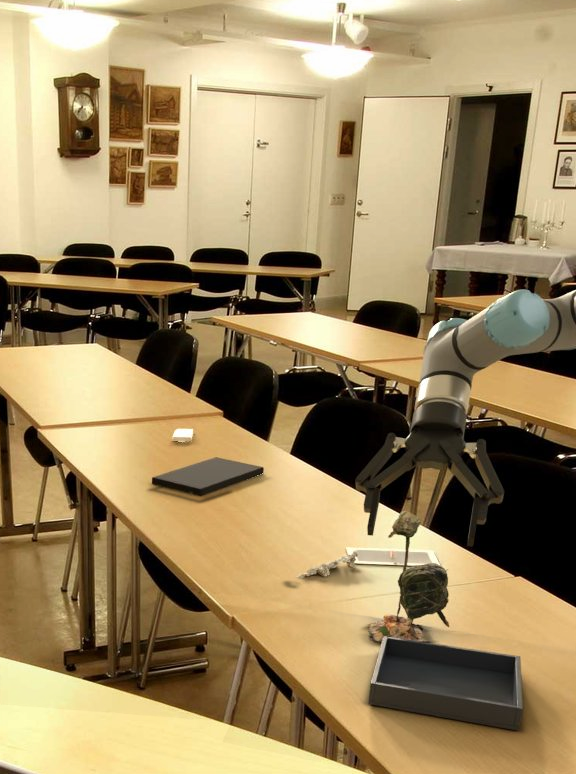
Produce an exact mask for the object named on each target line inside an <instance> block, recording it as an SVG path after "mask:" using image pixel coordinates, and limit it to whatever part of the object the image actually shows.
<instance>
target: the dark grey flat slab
mask: <svg viewBox="0 0 576 774" xmlns="http://www.w3.org/2000/svg"><path fill="white" fill-rule="evenodd" d="M264 469H265V468H264V466H260V465H256V464H250V463H245V462H241V461H236V460H232V459H227V458H222V457H217V456H215V457H211V458H210V459H205V460H202V461H200V462H196V463H193V464H190V465H188V466H183V467H180V468H178V469H177V468H176V469H174V470H171V471H168V472H165V473H162V474H159V475H155V476H152V477H151V485H155V486H158V487H163V488H167V489H170V490H174V491H178V492H182V493H185V494H191V495H195V496H198V497H202V496H206V495H209V494H211V493H214V492H217V491H221V490H222V489H225V488H228V487H231V486H234V485H236V484H240V483H242V482H244V481H245V482H246V481H248V480H250V478H251V479H253V478H252V477H254V478H256V477H258V476H257V475H259V476H261V475H260V474H262V473H263V474H264ZM263 474H262V475H263ZM255 476H256V477H255ZM247 479H248V480H247Z"/></svg>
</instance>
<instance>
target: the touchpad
mask: <svg viewBox="0 0 576 774" xmlns="http://www.w3.org/2000/svg"><path fill="white" fill-rule="evenodd" d="M345 549H346V553H347V554H348V555H351V554H353V551H355V552H357V554H358V556H357V557H355V558H356V561H355V562H354V564H363V565H386V566H387V565H388V566H389V565H390V566H404V562H405V552H406V550H405V549H406V548H405V549H403V548H402V549H400V548H378V547H377V548H376V547H375V548H374V547H373V548H371V547H349V546H348V547H345ZM408 551H409V552H408V562H407V566H409V567H413V566H415V565H424V564H430V563H436V564H438V565H440V566H441V564H440V561H439V560H438V558H437V556H436V554H435V552H434V550H429V549H408Z"/></svg>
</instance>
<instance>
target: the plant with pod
mask: <svg viewBox="0 0 576 774" xmlns="http://www.w3.org/2000/svg"><path fill="white" fill-rule="evenodd" d="M421 522H422V520H421V517H419V516H418V515H416V514H413V513H412V512H410V510H409V511H408V510H402V511H401V512H400V513H399V515H398V518H397V519H396V520H394V523H393V524H392V526H391V528H392V531H390V534H389V535H388V536H387V537H388V539H391V538H392V537H394V535H397V536H403V537H405V550H406V552H405V562H404V565H403V568H402V572H401V573H400V575H399V577H398V579H397V583H398V584H397V585H398V587H399V600H398V609H397V612H396V615H395V614H385V615H383V620H381V621H377V622H371V623H368V627H367V628H368V630H369V631H367V632H368V633H369V635H368V638H369V640H372V641H376V642H379V643H382V640H383V637H384V636H386V637H393V638H400V639H407V640H413V641H420V642H430V641H431V640H430V639H426V640H425V639H423V638H424V636H425V634H423V630H424V628H423V627H422V626H420V624H415V623H414V620H416V619H420V618H422V617H425V616H428V615H434V614H437V616H438V617H439V619H440V620H441V621H442V622H443V625H445V626H446V627H447V628H450V623H449V621H448V620H447V617H446V616H445V614H444V612H443V610H444V609H445V608H446V607H447V605H448V603H449V590H448V584H449V577H448V572H447V571H448V570H450V569H449V568H448V569H445V568H444V567H443V566H442V565H441V564H440V565H438V564H436V563H430V564H424V565H415V566H409V567H408V565H407V562H408V552H409V551H408V550H410V549H409V548H410V544H411V542H410V540H411V538H413V537H414V536H415V535H416V534H417V532H418V528H419V527H420V525H421ZM407 567H408V568H407ZM401 607H402V608H403V610H404V612H405V614H406V616H407V617H406V618H405V617H404V616H400V615H399V614H400V612H401ZM422 639H423V640H422Z"/></svg>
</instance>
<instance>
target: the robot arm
mask: <svg viewBox="0 0 576 774" xmlns="http://www.w3.org/2000/svg"><path fill="white" fill-rule="evenodd" d="M575 349H576V289H575V290H572V291H570V292H567V293H566V294H563V295H561V296H559V297H555V298H548V299H547V298H546V299H543V298H542V297H541V296H539V295H538V294H537V293H533V292H531V291H530V290H529V289H517V290H515V291H513V292H511V293H508V294H507V295H505V296H502V297H500V298H497V300H496V301H494V302H492V303H491V305H489V306H487V307H486V308H485V309H482V310H481V311H480V312H478V313H477V314H475V315H474V316H472V317H471V318H469V319H464V318H459V317H454V318H450V319H449V320H441V321H439V322H437V323H436V324H435V325H434V326H432V328H431V329H430V330H429V332H428V337H427V341H426V344H425V345H424V349H423V357H422V363H421V370H420V376H419V382H418V387H417V391H416V398H415V403H414V411H413V414H412V420H411V426H410V432H409V434H408V436H407V437H406V438H405V437H404V438H403V437H400V436H399V437H398V436H396V433H394V432H389V433H388V434H387V435H386V439H385V440H384V441H385V442H384V444H383V446H382V447H381V448H380V449H379V450H378V451H377V453H376V454H374V456H373V457H372V458H371V460H370V461H369V462H368V464H367V465H366V466H365V467H364V468H363V469H362V470H361V471H360V472H359V474H358V475H357V476H356V477H355V489H356V491H358V492H361V491H362V492H364V493H365V496H364V501H363V511H364V513H366V514H369V515H368V521H367V526H366V528H367V536H374V532H375V526H376V522H377V515H378V511H379V510H378V509H379V506H380V505H379V504H380V501H381V500H380V499H381V491H382V490H383V489H384V488H386V487H387V486H389V485H390V484H391V483H392V482H394V481H395V480H397V479H398V478H399V477H401V476H402V475H403V474H405V473H406V472H409V471H411V470H412V469H414V468H415V467H419V469H423V470H425V469H434V470H437V471H443V469H446V468H447V470H448V471H449V472H450V473H451V474H452V475H454V476H455V477H456V478H457V480H458V481H459V482H460V483H461V484H462V485H463V487H464V488H465V489H466V491H467V492H468V493H469V494H470V495H471V496H472V498H473V503H472V504H473V505H472V509H471V510H472V511H471V517H470V524H469V531H468V537H467V544H466V546H467V547H474V544H475V543H474V542H475V537H476V531H477V525H485V523H486V522H487V515H488V509H489V506H490V505H493V504H497V505H500V504H501V503H502V502H503V500H504V495H505V489H504V488H503V485H502V484H501V481H500V479H499V477H498V475H497V473H496V470H495V469H494V467H493V464H492V462H491V460H490V457H489V456H488V453H487V445H486V444H487V442H486V440H485V439H483V438H479V439H477V440H476V442H466V441H465V438H464V437H465V430H466V424H467V418H468V417H467V416H468V415H467V414H468V410H469V404H470V398H471V393H472V392H471V391H472V386H473V384H472V383H473V379H474V376H475V375H476V374H477V373H479V372H481V371H482V370H485V369H487V368H488V367H490V366H492V365H493V364H495V363H497V362H499V361H500V360H502V359H504V358H507V357H509V356H510V357H511V356H516V355H524V354H525V355H527V354H535V353H541V352H542V353H543V352H552V351H571V350H575ZM401 448H404V450H405V451H406V452H405V453H403V454H402V456H401V457H399V459H397V460H395V462H393V463H392V464H391V465H389V466H388V467H386V468H385V469H384V470H383V471H381V472H380V470H382V468H383V467H384V466H385V464H387V462H388V461H389V460H390V459H391V457H392V455H393V453H397V452H399V450H400V449H401ZM465 453H467V454H469V456H470V458H471V459H474V462H475V465H476V468H477V469H478V471H479V474H480V476H481V478H482V480H483V482H484V485H485V486H486V487H485V486H484V485H483V483H482V482H481V481H480V480H479V479H478V477H477V476H476V475H475V474H474V473H473V472H472V471H471V469H470V468H469V467H468V466H467V464H465V462H464V460H463V458H462V457H461V456H463V455H464V454H465ZM378 473H379V474H378Z"/></svg>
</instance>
